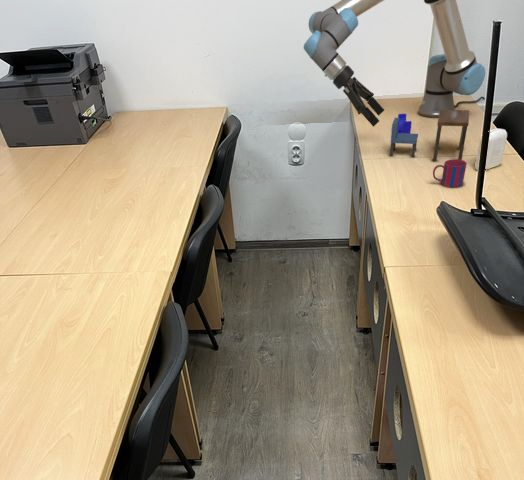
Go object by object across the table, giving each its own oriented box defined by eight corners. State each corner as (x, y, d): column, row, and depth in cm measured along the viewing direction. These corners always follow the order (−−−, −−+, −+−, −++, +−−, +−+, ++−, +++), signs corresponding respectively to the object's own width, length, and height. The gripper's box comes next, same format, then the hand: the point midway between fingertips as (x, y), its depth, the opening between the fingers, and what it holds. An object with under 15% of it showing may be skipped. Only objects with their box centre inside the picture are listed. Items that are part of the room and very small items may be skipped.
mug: (464, 187, 167) (468, 166, 163) (432, 187, 169) (435, 166, 164) (461, 179, 172) (464, 158, 168) (429, 180, 174) (432, 159, 170)
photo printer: (492, 161, 183) (499, 124, 175) (502, 164, 180) (510, 127, 172) (472, 169, 179) (479, 131, 171) (482, 172, 176) (490, 134, 168)
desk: (432, 161, 187) (437, 122, 178) (434, 147, 198) (440, 109, 189) (461, 162, 184) (468, 122, 176) (462, 148, 195) (469, 110, 187)
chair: (389, 156, 194) (392, 124, 186) (391, 149, 199) (394, 117, 192) (414, 157, 191) (418, 124, 184) (416, 150, 197) (420, 118, 190)
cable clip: (393, 129, 218) (394, 114, 214) (404, 128, 218) (405, 113, 214) (398, 138, 209) (399, 122, 205) (409, 137, 208) (411, 122, 205)
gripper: (338, 73, 196) (375, 115, 202) (324, 89, 178) (366, 136, 184) (353, 57, 192) (391, 101, 197) (340, 72, 173) (382, 120, 179)
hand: (379, 118), depth 190 cm, fingers open, 13 cm apart
